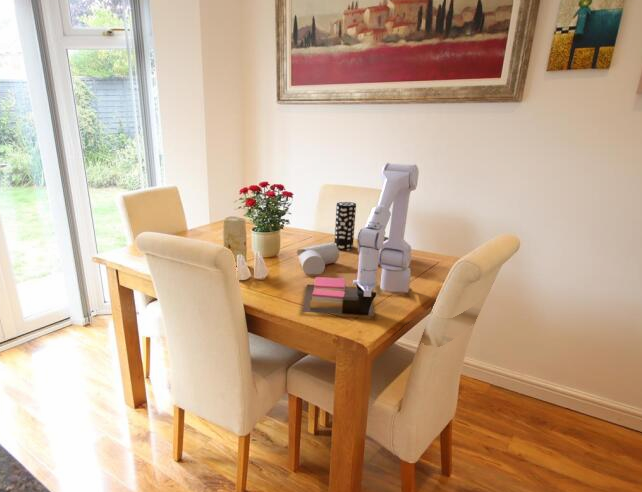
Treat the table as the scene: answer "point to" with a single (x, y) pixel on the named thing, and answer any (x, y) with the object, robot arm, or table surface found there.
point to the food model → (235, 236)
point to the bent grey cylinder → (317, 257)
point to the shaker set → (259, 267)
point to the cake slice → (327, 295)
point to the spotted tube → (345, 225)
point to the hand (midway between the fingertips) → (364, 309)
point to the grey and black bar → (339, 305)
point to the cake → (330, 284)
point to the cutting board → (348, 293)
